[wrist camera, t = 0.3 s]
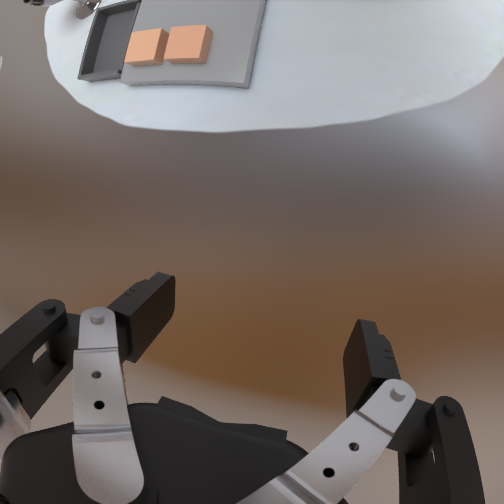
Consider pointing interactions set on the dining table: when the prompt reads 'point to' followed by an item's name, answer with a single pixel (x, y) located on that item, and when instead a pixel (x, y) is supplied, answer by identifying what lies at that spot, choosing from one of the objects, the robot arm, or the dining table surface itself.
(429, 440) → the robot arm
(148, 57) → the tile rear
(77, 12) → the wine glass
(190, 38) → the tile front
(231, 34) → the slate ledge
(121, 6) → the tray
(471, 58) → the dining table surface
